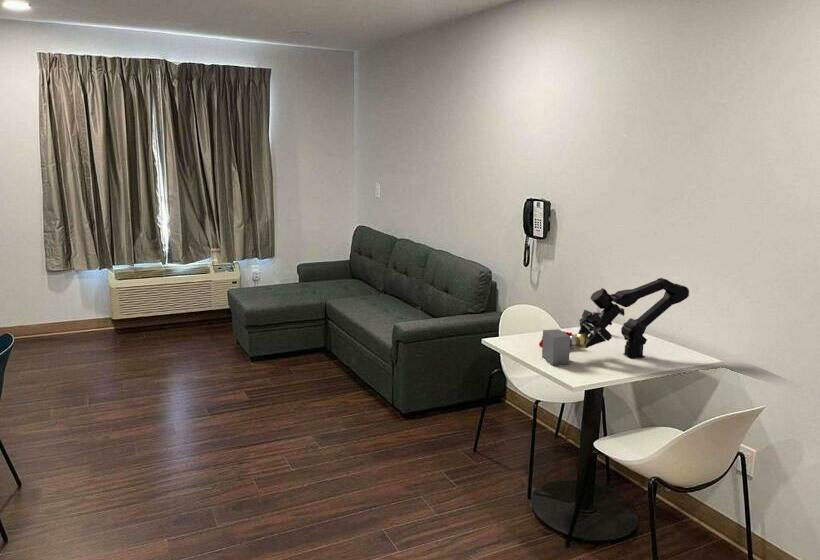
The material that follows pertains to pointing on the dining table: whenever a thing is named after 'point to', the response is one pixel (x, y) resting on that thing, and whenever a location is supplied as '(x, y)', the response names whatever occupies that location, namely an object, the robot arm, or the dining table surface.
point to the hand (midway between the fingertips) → (581, 343)
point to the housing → (556, 347)
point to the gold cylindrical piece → (579, 341)
